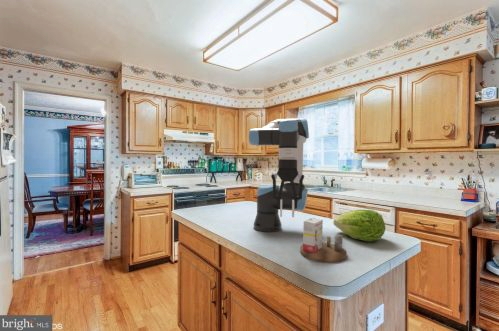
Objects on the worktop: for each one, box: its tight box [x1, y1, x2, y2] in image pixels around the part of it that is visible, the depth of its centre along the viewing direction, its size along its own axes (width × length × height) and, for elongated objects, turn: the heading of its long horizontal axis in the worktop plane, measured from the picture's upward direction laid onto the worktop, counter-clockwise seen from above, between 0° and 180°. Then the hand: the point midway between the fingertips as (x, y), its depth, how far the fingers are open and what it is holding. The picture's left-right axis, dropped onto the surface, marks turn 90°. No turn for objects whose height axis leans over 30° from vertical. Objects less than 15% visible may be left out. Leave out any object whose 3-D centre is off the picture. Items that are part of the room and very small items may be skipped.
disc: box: [299, 234, 348, 264], centre depth 102 cm, size 18×18×8 cm
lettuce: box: [332, 209, 386, 243], centre depth 123 cm, size 17×24×14 cm
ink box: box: [302, 217, 324, 253], centre depth 102 cm, size 9×5×12 cm, turn 141°
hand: (287, 216), depth 103 cm, fingers open, 4 cm apart
